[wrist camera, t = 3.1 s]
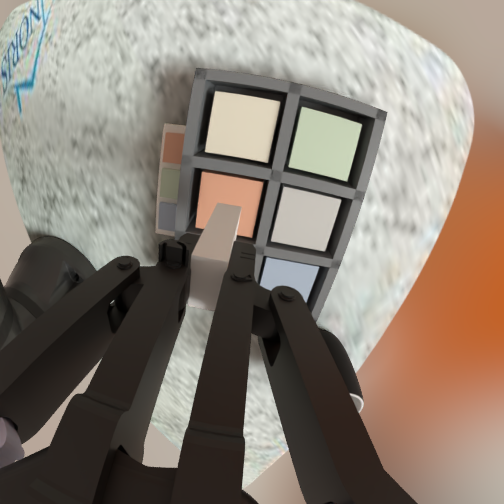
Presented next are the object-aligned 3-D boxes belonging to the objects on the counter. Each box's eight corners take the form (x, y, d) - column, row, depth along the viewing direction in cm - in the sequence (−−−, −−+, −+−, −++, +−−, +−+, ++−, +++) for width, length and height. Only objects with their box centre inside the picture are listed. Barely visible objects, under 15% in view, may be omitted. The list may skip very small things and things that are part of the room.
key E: (286, 162, 20) (288, 166, 19) (298, 107, 18) (302, 106, 17) (339, 175, 21) (346, 181, 19) (353, 123, 19) (362, 124, 17)
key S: (210, 148, 20) (205, 151, 18) (219, 93, 18) (215, 91, 16) (267, 158, 20) (267, 162, 19) (278, 103, 18) (280, 101, 16)
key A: (256, 287, 26) (256, 300, 24) (266, 246, 24) (266, 257, 22) (301, 294, 26) (304, 307, 25) (315, 255, 24) (319, 266, 23)
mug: (280, 320, 31) (284, 394, 22) (354, 320, 31) (376, 388, 22) (273, 379, 37) (273, 440, 28) (332, 377, 36) (343, 436, 28)
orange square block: (200, 217, 23) (195, 227, 21) (207, 166, 21) (202, 171, 19) (252, 227, 23) (252, 237, 21) (263, 176, 21) (263, 182, 19)
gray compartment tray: (156, 269, 28) (142, 293, 24) (174, 73, 19) (155, 66, 15) (309, 296, 29) (315, 324, 25) (366, 111, 20) (387, 112, 16)
